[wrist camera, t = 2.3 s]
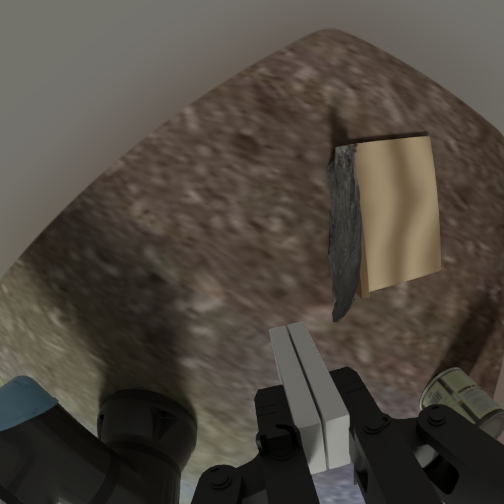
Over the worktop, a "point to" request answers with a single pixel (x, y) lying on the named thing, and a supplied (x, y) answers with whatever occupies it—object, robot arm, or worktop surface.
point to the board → (397, 212)
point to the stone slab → (344, 229)
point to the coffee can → (465, 400)
